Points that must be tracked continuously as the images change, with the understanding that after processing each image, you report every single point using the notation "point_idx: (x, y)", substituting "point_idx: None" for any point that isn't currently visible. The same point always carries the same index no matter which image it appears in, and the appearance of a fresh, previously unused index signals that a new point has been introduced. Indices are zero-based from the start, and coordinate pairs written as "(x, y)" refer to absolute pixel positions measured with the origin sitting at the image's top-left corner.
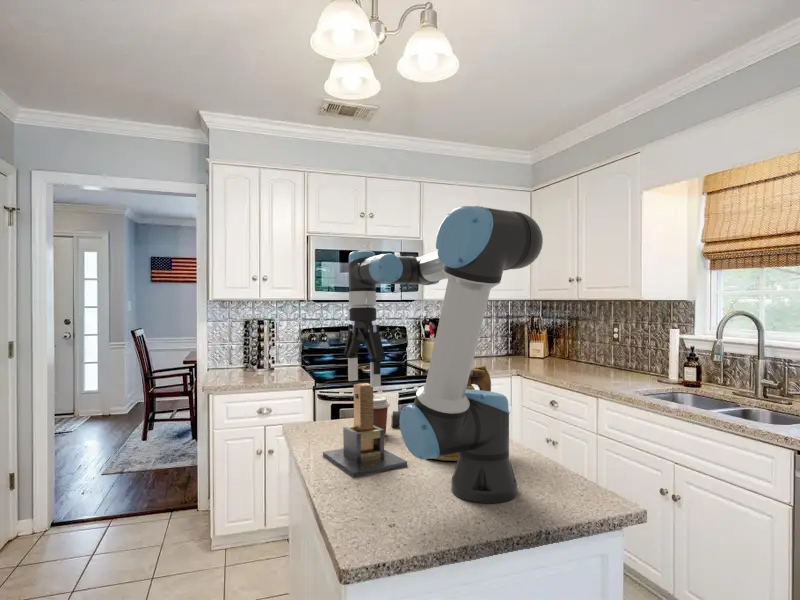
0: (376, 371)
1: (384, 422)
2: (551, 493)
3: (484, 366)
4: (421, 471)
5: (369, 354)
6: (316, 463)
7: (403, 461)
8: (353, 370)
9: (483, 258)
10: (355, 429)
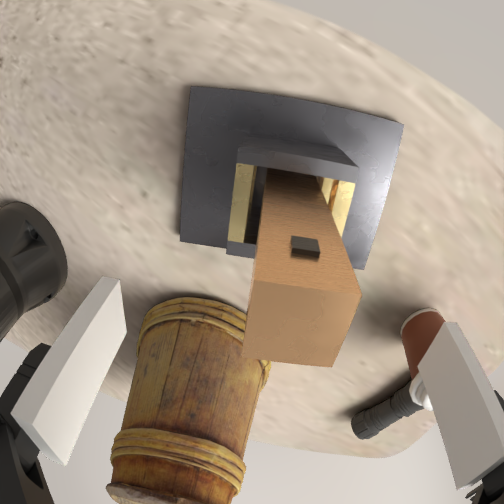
0: (26, 360)
1: (406, 355)
2: None
3: None
4: (137, 236)
5: (26, 500)
6: (361, 73)
7: (184, 234)
8: (452, 396)
9: None
10: (310, 188)
